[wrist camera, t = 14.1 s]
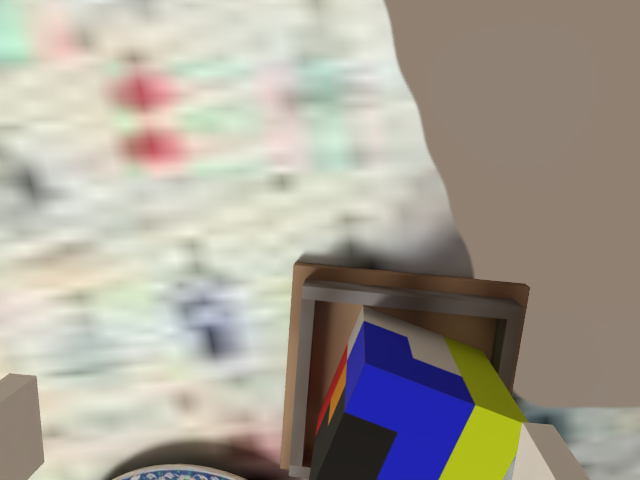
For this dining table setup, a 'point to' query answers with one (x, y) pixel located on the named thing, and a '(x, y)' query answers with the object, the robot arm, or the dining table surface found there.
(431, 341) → the puzzle toy
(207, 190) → the dining table surface
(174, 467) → the ceramic plate
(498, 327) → the pocket board
